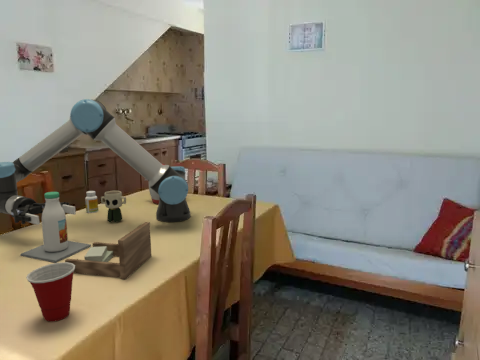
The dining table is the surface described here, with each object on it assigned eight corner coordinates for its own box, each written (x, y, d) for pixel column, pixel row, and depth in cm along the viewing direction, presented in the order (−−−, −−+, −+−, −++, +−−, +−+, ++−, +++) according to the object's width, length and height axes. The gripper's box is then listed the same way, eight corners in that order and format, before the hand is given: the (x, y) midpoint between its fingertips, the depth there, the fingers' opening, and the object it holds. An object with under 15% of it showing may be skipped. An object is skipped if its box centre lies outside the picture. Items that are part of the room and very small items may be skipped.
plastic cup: (41, 305, 104) (36, 261, 102) (84, 303, 105) (81, 260, 103) (23, 329, 94) (17, 280, 91) (71, 326, 95) (66, 278, 92)
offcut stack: (113, 257, 137) (112, 245, 136) (102, 269, 127) (101, 256, 127) (93, 256, 138) (92, 245, 137) (80, 269, 128) (79, 256, 127)
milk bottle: (53, 254, 137) (48, 196, 133) (39, 249, 141) (34, 193, 137) (73, 247, 143) (68, 191, 140) (59, 243, 147) (55, 189, 144)
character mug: (99, 224, 173) (97, 194, 170) (105, 219, 180) (103, 190, 177) (125, 224, 172) (123, 194, 170) (129, 219, 179) (128, 190, 177)
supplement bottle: (100, 210, 193) (99, 190, 191) (93, 213, 188) (91, 193, 186) (91, 209, 195) (90, 190, 193) (83, 212, 190) (82, 192, 188)
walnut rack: (151, 256, 136) (149, 222, 134) (125, 279, 119) (122, 240, 117) (96, 252, 141) (94, 218, 138) (64, 273, 124) (60, 236, 121)
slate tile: (91, 246, 146) (90, 244, 146) (55, 262, 132) (55, 260, 132) (57, 241, 152) (57, 238, 152) (20, 256, 138) (20, 253, 138)
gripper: (53, 209, 160) (88, 216, 149) (-13, 225, 140) (22, 236, 128) (52, 190, 159) (87, 197, 148) (-16, 204, 138) (19, 213, 127)
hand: (57, 215), depth 138 cm, fingers open, 13 cm apart
